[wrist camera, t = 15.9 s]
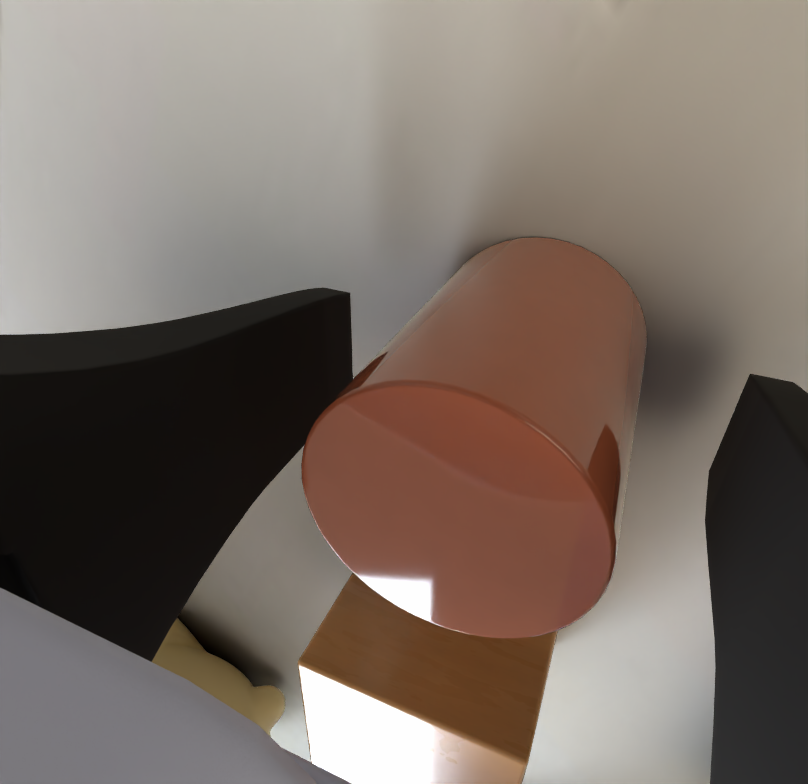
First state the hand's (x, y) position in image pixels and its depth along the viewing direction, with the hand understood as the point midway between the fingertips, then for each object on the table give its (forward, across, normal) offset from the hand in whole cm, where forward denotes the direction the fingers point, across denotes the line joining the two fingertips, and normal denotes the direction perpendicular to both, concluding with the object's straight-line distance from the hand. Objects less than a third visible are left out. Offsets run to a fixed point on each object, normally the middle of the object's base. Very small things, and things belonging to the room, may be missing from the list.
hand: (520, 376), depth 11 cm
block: (+1, 0, +7) cm, 8 cm away
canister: (+1, 0, 0) cm, 1 cm away
